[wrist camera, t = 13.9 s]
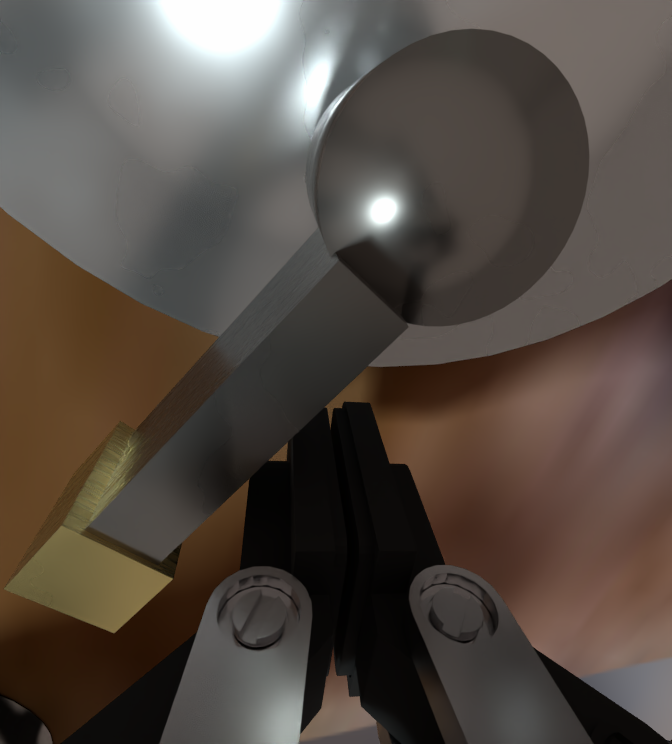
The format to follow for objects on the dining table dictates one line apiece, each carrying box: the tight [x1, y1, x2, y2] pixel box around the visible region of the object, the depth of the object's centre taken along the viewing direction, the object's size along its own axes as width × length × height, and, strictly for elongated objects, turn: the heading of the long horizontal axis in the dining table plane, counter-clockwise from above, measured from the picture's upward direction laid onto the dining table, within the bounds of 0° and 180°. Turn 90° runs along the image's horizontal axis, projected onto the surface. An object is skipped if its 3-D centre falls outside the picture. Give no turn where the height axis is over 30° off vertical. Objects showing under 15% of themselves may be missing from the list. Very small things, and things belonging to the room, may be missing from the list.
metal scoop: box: [4, 29, 589, 633], centre depth 7 cm, size 10×3×4 cm, turn 136°
